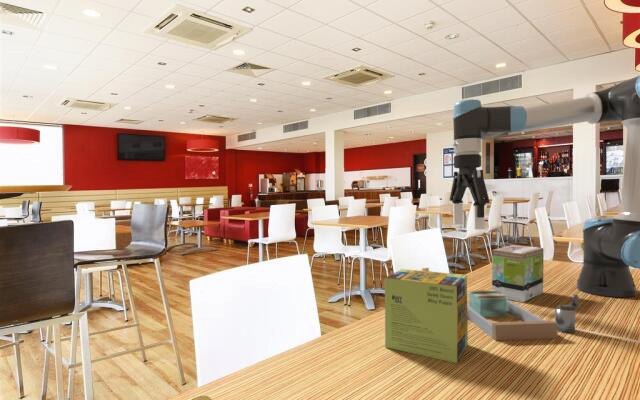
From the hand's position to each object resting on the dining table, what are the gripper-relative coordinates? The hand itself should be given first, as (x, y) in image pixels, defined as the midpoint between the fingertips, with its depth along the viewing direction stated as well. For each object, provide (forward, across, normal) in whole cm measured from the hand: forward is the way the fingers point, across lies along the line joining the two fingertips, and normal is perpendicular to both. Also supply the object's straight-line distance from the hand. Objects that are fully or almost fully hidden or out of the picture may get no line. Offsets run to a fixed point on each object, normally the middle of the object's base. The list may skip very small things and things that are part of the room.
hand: (467, 226), depth 112 cm
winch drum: (+22, +24, +12) cm, 35 cm away
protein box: (+23, +29, -23) cm, 43 cm away
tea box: (+23, -5, +18) cm, 30 cm away
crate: (+23, +9, +1) cm, 24 cm away
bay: (+22, +16, +1) cm, 28 cm away
